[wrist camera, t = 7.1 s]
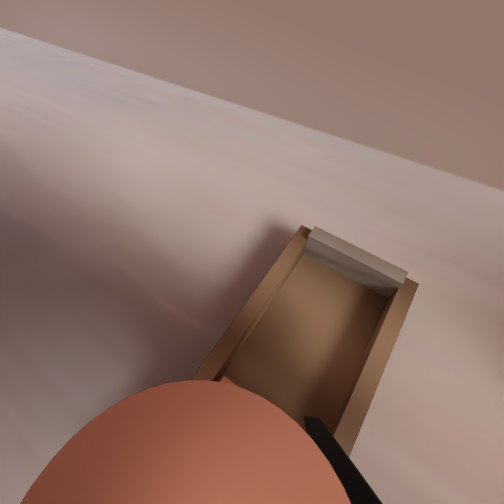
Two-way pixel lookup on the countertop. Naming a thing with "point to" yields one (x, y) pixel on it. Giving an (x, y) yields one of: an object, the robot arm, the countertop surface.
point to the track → (316, 332)
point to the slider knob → (190, 453)
